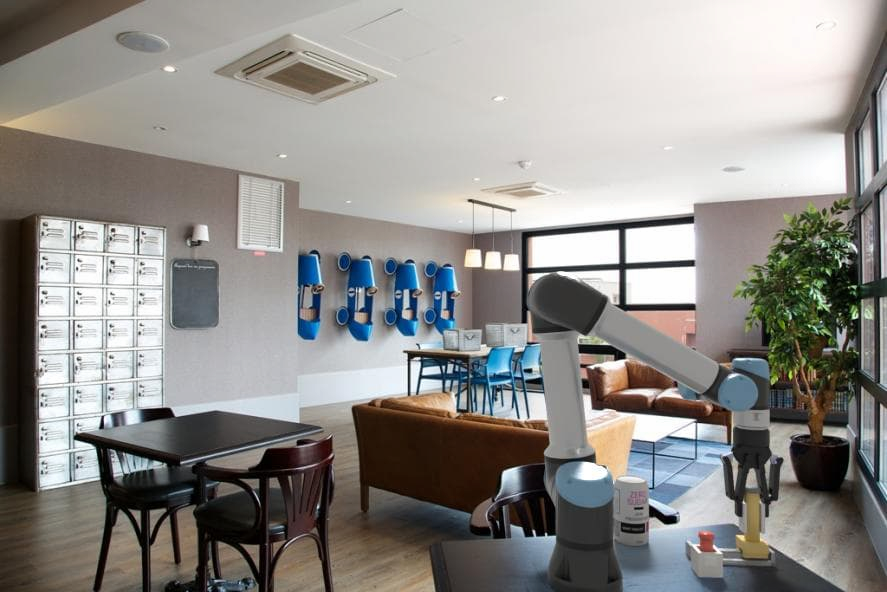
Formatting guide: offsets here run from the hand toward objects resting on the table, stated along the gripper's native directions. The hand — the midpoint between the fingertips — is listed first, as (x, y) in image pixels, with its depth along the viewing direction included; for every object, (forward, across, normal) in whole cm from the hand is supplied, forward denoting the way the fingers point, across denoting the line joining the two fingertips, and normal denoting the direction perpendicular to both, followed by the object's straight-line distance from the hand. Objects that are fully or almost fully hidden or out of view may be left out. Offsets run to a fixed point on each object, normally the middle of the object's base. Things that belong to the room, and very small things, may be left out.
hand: (751, 531), depth 141 cm
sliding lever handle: (+5, 0, 0) cm, 5 cm away
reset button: (+3, -12, -8) cm, 15 cm away
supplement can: (+7, -24, +10) cm, 27 cm away
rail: (+7, -5, 0) cm, 8 cm away
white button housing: (+7, -12, -8) cm, 16 cm away
